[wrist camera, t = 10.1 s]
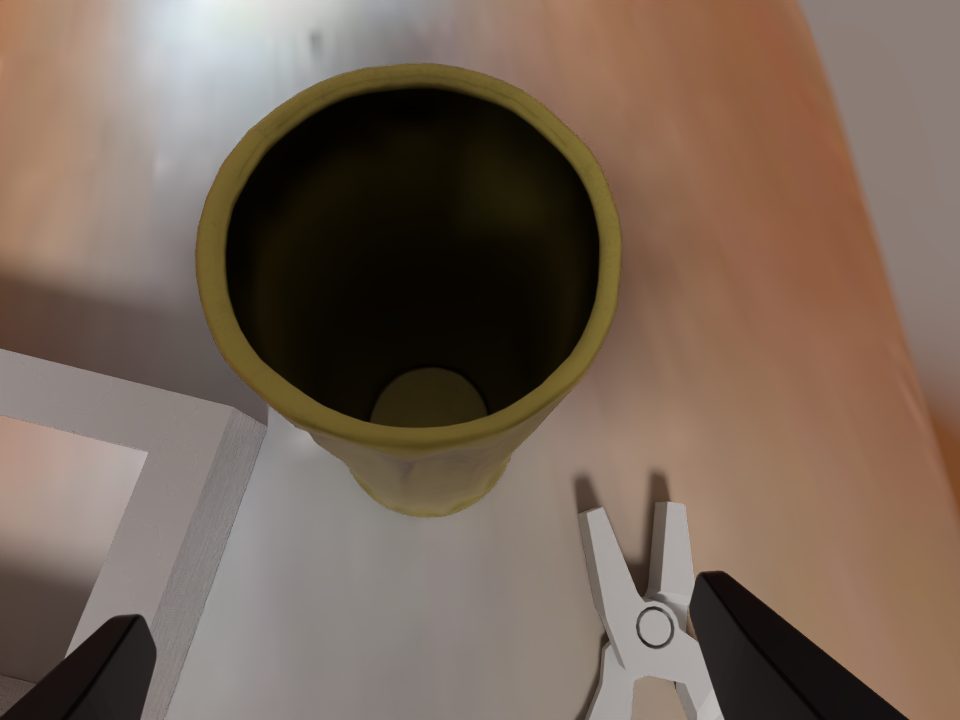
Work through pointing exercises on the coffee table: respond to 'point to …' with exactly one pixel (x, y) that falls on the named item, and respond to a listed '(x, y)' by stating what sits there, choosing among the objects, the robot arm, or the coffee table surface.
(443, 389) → the vase
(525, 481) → the coffee table surface
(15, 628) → the coffee table surface
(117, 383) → the socket block
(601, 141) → the coffee table surface
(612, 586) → the pliers
